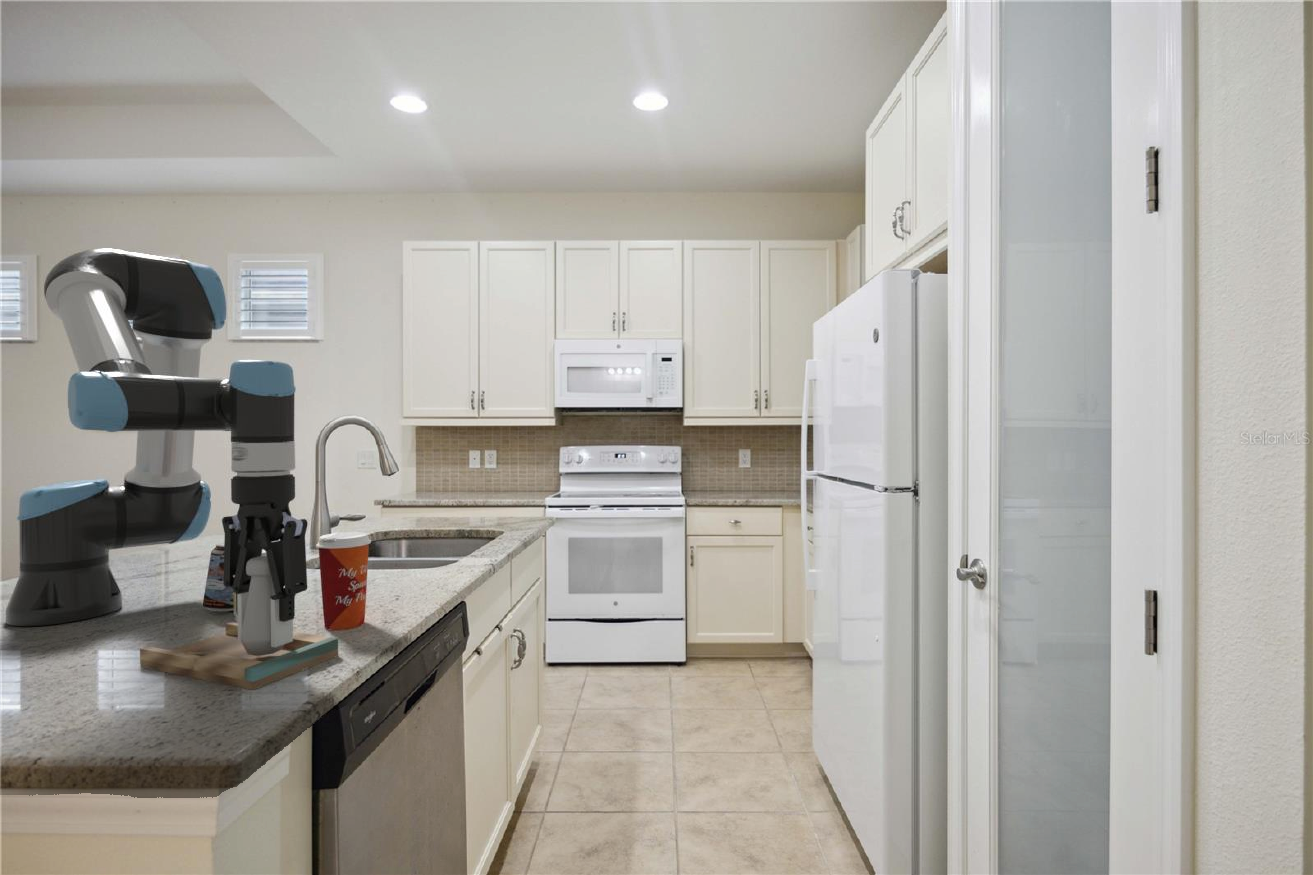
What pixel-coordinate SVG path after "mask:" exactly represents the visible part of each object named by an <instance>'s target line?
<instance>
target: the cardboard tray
mask: <svg viewBox="0 0 1313 875" xmlns="http://www.w3.org/2000/svg"><path fill="white" fill-rule="evenodd" d="M336 657H339V638H337V637H332V636H331V637H330V636H324V635H317V634H311V633H305V632H299V631H293V641H292V642H289V643H286V644H284V647H283V649H282V650H279V651H277V652H275V653H273V654H267V655H260V656H254V655H249V654H247V652H246V650H245V648H244V646H243V644H242V642H240V641H238V622H236V621H231V622H227V623H225V633H223V634H219V635H216V636H212V637H210V638H207V639H202V640H199V641H196V642H194V643H190V644H186V645H183V646H179V647H177V648H174V649H164V648H159V647H154V646H148V645H147V646H145V647H144V646H143V647H141V648H139V667H141V668H145V669H149V670H154V671H159V672H164V673H169V674H174V675H179V676H184V677H189V678H194V679H199V680H204V681H208V682H213V683H216V684H217V683H218V684H223V685H227V686H233V687H237V688H241V689H247V690H253V691H254V690H257V689H259V688H261V687H264V686H266V685H269V684H271V683H274V682H276V681H279V680H281V678H282V679H283V678H287V677H288V676H291V675H293V673H294V674H296V673H299V672H301V671H304V670H306V669H308V668H311V667H314V666H316V665H319V664H321V663H324V662H325V661H328V660H331V659H333V658H336ZM303 669H304V670H303Z"/></svg>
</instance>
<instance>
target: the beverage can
mask: <svg viewBox="0 0 1313 875" xmlns="http://www.w3.org/2000/svg"><path fill="white" fill-rule="evenodd" d="M223 582H224V543H218V544H217V543H216V544H215V547H213V549H212V550H211V552H210V557H209V562H208V570H207V576H206V581H205V587H204V594H203V599H202V606H203V607H205V608H206V610H207V611H211V612H231V611H233V612H234V596H233V588H231V587H225V586H224V583H223Z"/></svg>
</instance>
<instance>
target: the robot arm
mask: <svg viewBox="0 0 1313 875" xmlns="http://www.w3.org/2000/svg"><path fill="white" fill-rule="evenodd" d="M43 293H44V298H45V300H46V303H47V306H48V308H49V309H50V311H51V313H52V314H53V315H54V316H55V317H57V318H59V320H61V321H62V325H63V328H64V330H65V332H66V336H67V339H68V342H69V344H70V345H69V346H70V348H71V350H72V354H73V355H74V360H75V362H76V365H77V368H78V370H79V372H75V373H73V374H72V375H71V376H70V378H69V381H68V387H67V408H68V416H69V421H70V422H71V424H72V425H73V426H74V427H75V428H77V429H80V430H83V431H106V432H109V433H117V432H130V431H131V432H132V431H133V432H136V431H137V437H136V449H135V450H136V453H135V454H136V455H135V466H134V467H133V468H132V469H130V470H129V471H127V472H125V474H124V480H123V481H124V482H123V484H122V485H110V482H109V481H108V479H106V478H92V479H82V480H75V481H74V480H73V481H67V482H60V483H54V484H53V483H52V484H47V485H42V486H38V487H34V488H33V487H32V488H30V489H28V490H26V491H24V492H23V493H22V495H20V498H19V507H18V515H17V517H16V519H17V521H18V522H19V576H18V579H17V581H16V584H15V586H14V589H13V590H12V594H11V596H10V598H9V600H8V602H7V606H6V609H5V623H6V624H7V625H8V626H14V627H15V626H16V627H36V626H38V627H39V626H49V625H56V624H63V623H66V624H67V623H71V622H77V621H83V620H86V619H88V620H89V619H92V618H96V617H100V616H104V615H107V614H110V613H113V612H116V611H118V610H120V609H121V608H122V606H123V596H122V591H121V589H120V587H119V585H118V583H117V581H116V578H115V576H114V573H113V571H112V569H111V568H110V551H111V550H117V549H127V548H135V547H145V546H155V545H165V544H170V545H172V544H173V545H174V544H176V543H179V542H185V541H193V540H194V539H196V538H198V537H199V536H200V535H201V534H202V533H203V532H204V531H205V529H206V527H207V525H208V521H209V518H210V513H211V507H212V501H211V496H212V494H211V493H212V492H211V488H210V486H209V484H208V483H207V482H206V481H203V480H202V476H201V474H200V473H199V472H198V471H197V470H195V468H193V461H194V459H193V458H194V449H195V448H194V447H195V446H194V445H195V432H196V431H200V432H201V431H207V432H208V431H211V432H212V431H214V432H215V431H217V432H219V431H221V432H230V442H231V471H232V472H233V473H236V475H234V476H232V478H230V484H231V485H230V492H231V493H230V499H231V502H232V503H233V504H235V505H239V506H238V511H237V514H235V515H230V516H224V517H222V519H221V522H222V523H221V524H222V528H223V532H224V542H223V544H224V582H223V583H224V586H225V587H231V588H233V592H234V593H236V612H237V615H238V622H237V623H238V641H240V642H241V638H240V637H241V632H242V626H243V620H244V615H245V609H246V604H247V598H248V593H249V587H250V582H251V576H249V575H247V573H246V565H247V562H248V561H249V560H250V559H252V558H255V557H259V556H261V554H262V549H263V550H265V551H266V554H267V559H268V563H269V568H270V572H271V577H272V582H273V586H274V591H275V595H274V596H270V597H271V647H278V646H281V645H284V644H286V643H289V642H292V641H293V632H294V626H293V625H294V624H293V623H294V621H293V620H294V619H295V616H296V615H295V614H296V613H295V612H296V611H295V610H296V609H295V608H296V606H295V605H296V603H295V602H296V601H295V597H296V595H297V594H299V593H303V592H305V591H307V589H308V575H307V574H308V573H307V551H306V533H307V528H308V520H307V519H305V518H302V519H298V518H295V517H293V516H292V512H291V510H290V506H289V505H290V503H291V502H292V501H294V500H295V497H296V478H295V477H296V476H294V474H292V473H291V471H292V472H293V471H294V470H295V469H296V448H295V447H296V444H295V443H296V442H295V393H296V386H295V379H294V370H293V367H292V366H291V365H290V364H289V363H286V362H282V361H275V360H262V359H258V360H257V359H256V360H255V359H246V360H245V359H241V360H236V361H233V363H231V364H230V370H229V371H230V372H229V378H214V377H212V378H211V377H200V365H201V363H200V362H201V354H202V353H201V350H202V347H203V346H205V344H207V343H208V342H210V341H211V340H212V336H213V331H217V330H221V329H222V328H223V327H225V326H224V325H225V323H226V322H225V321H226V319H227V301H226V293H225V289H224V285H223V282H222V280H221V278H220V275H219V274H218V273H217V271H216V270H215V269H214V268H213V267H210V266H209V265H206V264H201V263H199V262H198V263H197V262H194V261H189V260H187V259H179V258H171V257H164V256H157V255H150V254H145V253H139V252H130V251H125V250H123V249H114V248H94V249H89V250H88V249H87V250H83V251H80V252H77V253H73V254H71V255H69V256H67V257H66V258H64V259H62V260H59V262H58V263H57V264H55V265H54V266H53V267H52V268H51V269H50V271H49V272H48V274H47V276H46V277H45V281H44V284H43ZM130 321H132V325H131V324H130ZM136 335H137V336H138V337H139V338H140V339H141V341H142V347H141V345H140V343H139V341H138V339H137V337H136ZM233 575H235V577H233Z"/></svg>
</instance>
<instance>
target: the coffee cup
mask: <svg viewBox="0 0 1313 875" xmlns="http://www.w3.org/2000/svg"><path fill="white" fill-rule="evenodd" d="M371 543H372V540H371V539H369V535H368V533H367V532H360V531H348V532H334V533H328V534H323V535H320V536H319V539H318V543H316V545H315V547H317V548H318V557H319V571H320V572H319V574H320V585H321V586H320V587H321V598H322V599H321V601H322V611H323V612H322V613H323V623H324V624H323V625H324V629H326V630H328V631H346V630H352V629H356V628H360V627H361V626H362V625H364V624H365V618H366V606H367V605H366V603H367V602H366V601H367V587H368V586H367V584H368V571H369V570H368V567H369V566H368V565H369V550H370V549H369V547H370V546H369V545H370V544H371Z"/></svg>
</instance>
